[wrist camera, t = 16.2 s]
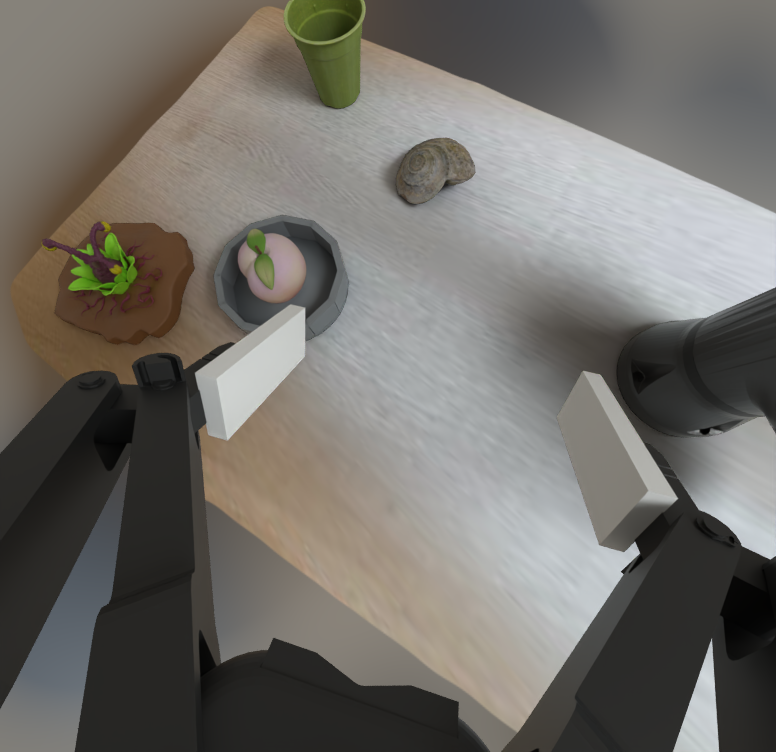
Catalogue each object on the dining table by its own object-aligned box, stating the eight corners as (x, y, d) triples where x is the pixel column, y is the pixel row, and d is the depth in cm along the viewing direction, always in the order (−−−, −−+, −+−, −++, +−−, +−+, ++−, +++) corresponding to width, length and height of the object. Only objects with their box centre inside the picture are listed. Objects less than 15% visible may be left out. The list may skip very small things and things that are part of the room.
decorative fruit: (326, 297, 48) (305, 258, 39) (276, 324, 48) (243, 292, 38) (298, 249, 50) (272, 200, 41) (250, 274, 50) (212, 231, 40)
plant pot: (293, 97, 58) (266, 15, 47) (340, 57, 60) (325, -31, 49) (338, 132, 56) (322, 55, 45) (387, 90, 57) (382, 5, 46)
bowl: (294, 215, 53) (284, 194, 48) (372, 285, 49) (369, 269, 45) (208, 290, 51) (189, 275, 46) (284, 369, 47) (271, 361, 43)
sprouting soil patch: (98, 222, 55) (22, 166, 44) (207, 237, 53) (155, 182, 42) (52, 334, 51) (-44, 302, 40) (168, 353, 49) (100, 326, 38)
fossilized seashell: (407, 139, 53) (421, 107, 46) (464, 167, 55) (485, 141, 49) (388, 202, 53) (399, 180, 46) (446, 227, 55) (465, 209, 49)
